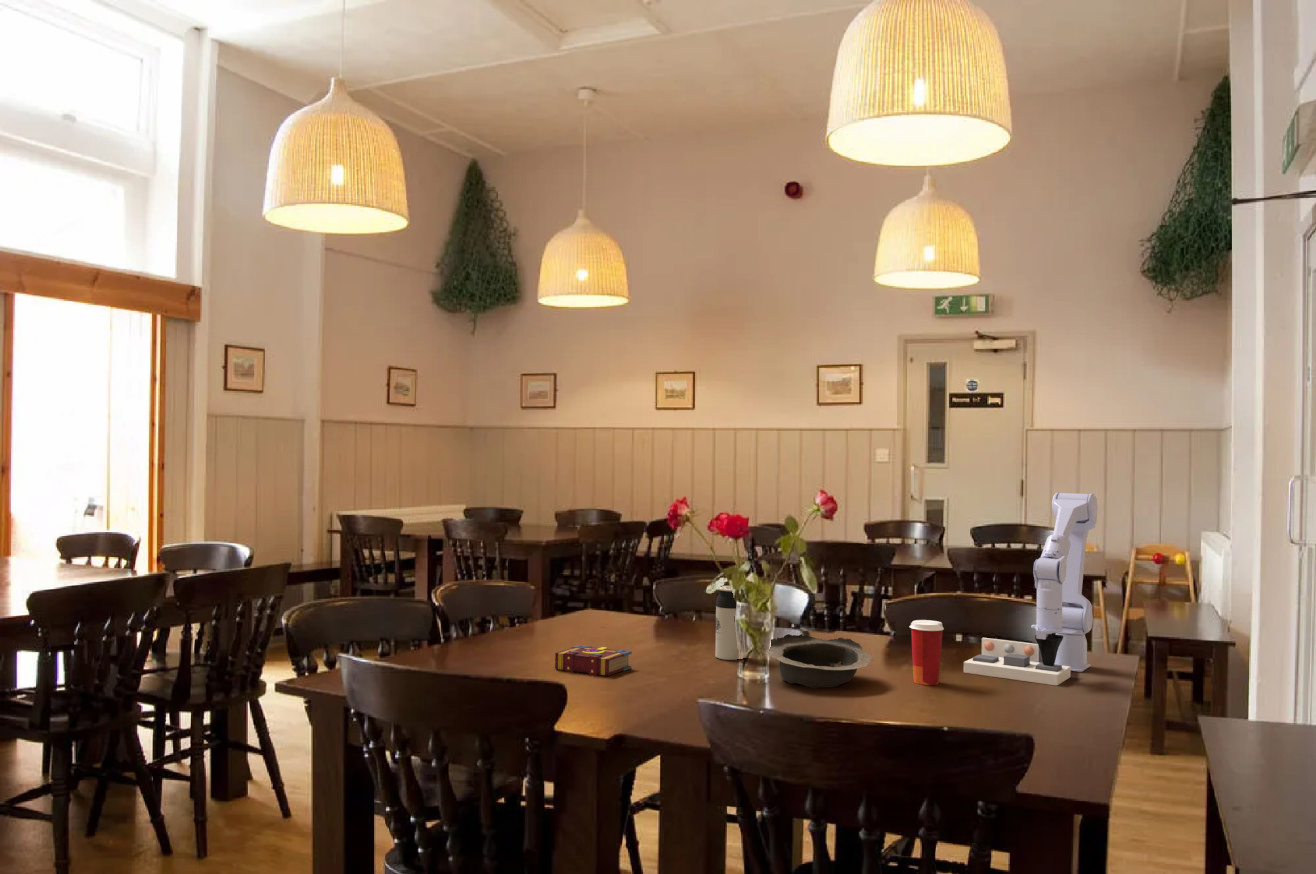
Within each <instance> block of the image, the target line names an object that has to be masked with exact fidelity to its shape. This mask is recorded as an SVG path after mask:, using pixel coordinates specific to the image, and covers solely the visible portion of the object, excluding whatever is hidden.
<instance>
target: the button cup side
mask: <svg viewBox="0 0 1316 874" xmlns="http://www.w3.org/2000/svg"><path fill="white" fill-rule="evenodd" d="M1036 669H1039V670H1046V671H1054V672H1058V671H1060V670H1062V665H1057V664H1054V666H1046V665H1043V661H1041V662H1039V664H1037V665H1036Z"/></svg>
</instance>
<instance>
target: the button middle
mask: <svg viewBox="0 0 1316 874" xmlns="http://www.w3.org/2000/svg"><path fill="white" fill-rule="evenodd" d="M1004 665H1009V666H1016V667H1024V668H1025V667H1027V666H1029V665H1030V656H1027V655H1019V654H1011V653H1010V654H1008V655H1005V656H1004Z"/></svg>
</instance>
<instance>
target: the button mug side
mask: <svg viewBox="0 0 1316 874" xmlns="http://www.w3.org/2000/svg"><path fill="white" fill-rule="evenodd" d="M972 658H973V661H979V662H986V663H995V662H997V661H999V657H996V656H988V655H982V654H980V653H979V654H977V655H975V656H973V657H972Z"/></svg>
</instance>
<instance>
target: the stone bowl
mask: <svg viewBox="0 0 1316 874" xmlns="http://www.w3.org/2000/svg"><path fill="white" fill-rule="evenodd" d="M863 649H864V648H863V646H861V644H860V643H859V642H856V641H853V640H852V639H851V638H843V637H838V638H834V639H831V638H830V639H826V640H825V639H822V638H817V637H813V636H809V635H808V634H805V635H803V634H802V633H801V634H799V635H796V634H793V635H792V634H790V633H788V634H786V635H784V636H782V637H777V638H772V639H771V647H770V649H769V652H768V654H767V653H766V655H767V656H769V657H771V658H773V659H777V660H778V661H779V663H778V669H779V674H780V675H779V676H780V677H781V680H782V681H784V682H786V683H788V684H798V685H801V686H804V687H807V688H810V689H817V688H836V687H838V686H840V685H841V684H845V683H848V682H849V681H851V680H852V679H853V678H854V676H855V675H856V673H857V670H858V669H860V668H865V667H867V666H868V665H869V663H870V662H872V661H874V660H873V656H872V654H871V653H868V652H867V651H866V650H863Z"/></svg>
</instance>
